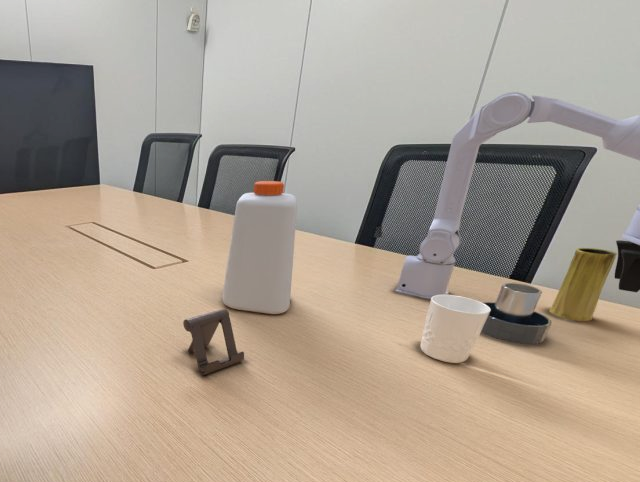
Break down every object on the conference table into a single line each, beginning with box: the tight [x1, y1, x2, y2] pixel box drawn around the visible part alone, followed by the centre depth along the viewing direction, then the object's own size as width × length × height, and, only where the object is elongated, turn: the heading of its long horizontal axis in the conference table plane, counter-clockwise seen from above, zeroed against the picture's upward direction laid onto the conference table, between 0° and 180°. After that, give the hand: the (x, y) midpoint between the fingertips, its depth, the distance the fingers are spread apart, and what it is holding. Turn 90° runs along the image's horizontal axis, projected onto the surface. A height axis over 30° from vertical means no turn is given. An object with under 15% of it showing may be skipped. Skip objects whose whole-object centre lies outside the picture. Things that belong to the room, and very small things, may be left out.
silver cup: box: [490, 282, 543, 325], centre depth 73 cm, size 5×5×9 cm
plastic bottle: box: [221, 180, 298, 315], centre depth 86 cm, size 15×15×28 cm
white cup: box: [419, 294, 491, 364], centre depth 66 cm, size 8×8×10 cm
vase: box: [548, 247, 618, 322], centre depth 77 cm, size 6×6×14 cm
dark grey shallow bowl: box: [480, 301, 552, 345], centre depth 74 cm, size 11×11×4 cm
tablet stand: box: [182, 308, 245, 376], centre depth 66 cm, size 9×8×8 cm
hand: (625, 284), depth 69 cm, fingers open, 7 cm apart
